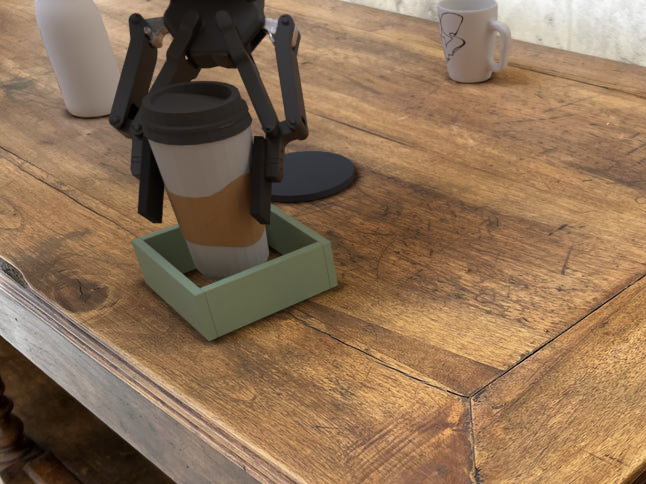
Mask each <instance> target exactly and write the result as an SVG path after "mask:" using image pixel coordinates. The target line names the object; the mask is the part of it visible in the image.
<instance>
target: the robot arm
mask: <svg viewBox="0 0 646 484" xmlns="http://www.w3.org/2000/svg"><path fill="white" fill-rule="evenodd" d="M265 2H266V0H169V4H168V6H167V8H166V9H165V10H164V12H163V15H162V16H157V17H149V18H145V17H144V16H143V15H142V14H141V13H138V12H134V13H131V14H130V16H128V32H129V43H128V46H127V50H126V54H125V58H124V61H123V65H122V69H121V72H120V75H121V76H120V79H119V83H118V87H117V90H116V94H115V98H114V101H113V105H112V109H111V112H110V114H109V116H108V123H109V125H110V126H111V127H112V128H114V129H115V130H116V131H117V132H118V133H120V135H122V136H123V137H124V138H126V139H128V140H131V153H130V166H129V171H130V173H131V175H132V176H133V177H134V178H135V179H137V180H138V181H139V183H138V184H139V185H138V199H137V200H138V201H137V214H138V215H140V216H141V217H142V218H144V219H145V220H147V221H148V222H150V223H152V224H163V214H164V198H165V186H164V181H163V178H162V175H161V173H160V170H159V167H158V165H157V162H156V159H155V156H154V154H153V151H152V148H151V146H150V143H149V140H148V139H147V138H146V137H145V136H144V134H143V124H142V122H141V114H142V112H143V105H142V100H143V98H144V97H145V96H146V95H147V94H149V93H150V92H152V91H154V90H156V89H159V88H162V87H165V86H168V85H173V84H177V83H183V82H191V81H194V80H196V79H197V78H198V76H199V74H200V73H201V71H202V69H205V70H206V69H208V70H209V69H213V68H218V67H221V68H223V69H226V70H227V69H228V70H237V71H238V73H239V76H240V78H241V80H242V83H243V86H244V88H245V91H246V92H247V95H248V97H249V100H250V102H251V104H252V107H253V109H254V111H255V114H256V116H257V119H258V121H259V124H260V126H261V127H260V129H261V130H262V131H263V133H264V134H265V136H264V135H253V162H252V181H251V200H250V215H251V216H252V217H253V218H254V219H255V220H257V221H258V222H259V223H260V224H261V225H270V213H271V204H272V201H271V193H272V183H281V182H282V179H283V177H284V158H285V154H286V152H285V151H286V147H287V145H288V144H290V143H291V142H294V141H306V140H307V139H308V138H309V135H310V134H309V133H310V131H309V124H308V118H307V112H306V107H305V106H306V105H305V99H304V94H303V87H302V81H301V74H300V68H299V62H298V53H299V48H300V43H301V39H302V35H301V33H300V30H299V28H298V27H297V25H296V22H295V21H294V19H293V17H292V16H291V15H290V14H287V13H284V14H281V15H280V16H279V17H278V18H273V17H267V16H266V15H265V6H266V5H265ZM166 35H170V36H171V37H172V41H171V42H170V44H169V46H168V48H167V50H166V52H165V61H164V63H163V65H162V67H161V69H160V70H159V73H158V75H157V76H156V78H155V80H154V81H153V77H154V73H155V69H156V65H157V62H158V53H159V50H158V49H162V48H163V46H164V43H163V41H164V37H165V36H166ZM267 35H268V38H269V40H270V42H271V44H272V45H273V47H274V53H275V59H276V67H277V73H278V78H279V85H280V93H281V98H282V106H283V113H284V118H285V119H284V120H281V121H280V119H279V117H278V114H277V112H276V110H275V107H274V105H273V103H272V101H271V98H270V96H269V94H268V91H267V89H266V86H265V84H264V82H263V78H261V74H260V71H259V68H258V66H257V64H256V61H255V59H254V57H253V53H254V51H255V50H256V49H257V47H258V46H259V45H260V44H261V43H262V42H263V40H264V39H265V38H266V37H267ZM152 81H153V83H152ZM151 84H152V85H151Z"/></svg>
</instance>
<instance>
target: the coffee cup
mask: <svg viewBox="0 0 646 484" xmlns="http://www.w3.org/2000/svg"><path fill="white" fill-rule="evenodd" d="M148 93H149V92H148ZM142 105H143V112H142V114H141V122H142V124H143V134H144V136H145V137H146V138H147V139H148V140H149V143H150V146H151V148H152V151H153V154H154V156H155V159H156V162H157V165H158V167H159V170H160V173H161V175H162V178H163V181H164V191H165V192H166V195H167V198H168V200H169V203H170V206H171V208H172V211H173V214H174V217H175V219H176V221H177V224H179V227H180V230H181V232H182V235H183V237H184V238H185V240H186V243H187V245H188V248H189V251H190V254H191V256H192V259H193V262H194V264H195V267H196V268H197V271H198V272H199V273H200V274H202V276H203V277H205V278H206V279H209V280H212V281H215V282H217V281H220V280H222V279H225V278H227V277H230V276H232V275H235V274H237V273H240V272H242V271H245V270H247V269H250V268H252V267H255V266H258V265H260V264H263V263H265V262H268V259H269V255H270V251H269V250H270V249H269V245H268V243H267V236H266V229H265V225H261V224H260V223H259V222H258V221H257V220H255V219H254V218H253V217H252V216H251V215H250V200H251V181H252V162H253V142H254V137H253V132H252V123H253V118H252V115H251V113H250V111H249V109H250V108H249V105H248V103H247V101H246V100H245V99H243V98H242V96H241V92H240V90H239V88H238V87H236V86H235V85H234V84H231V83H228V82H224V81H218V80H217V81H216V80H191V82H183V83H177V84H173V85H168V86H165V87H162V88H159V89H156V90H154V91H152V92H150V93H149V94H147V95H146V96H145V97H144V98H143V100H142Z"/></svg>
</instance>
